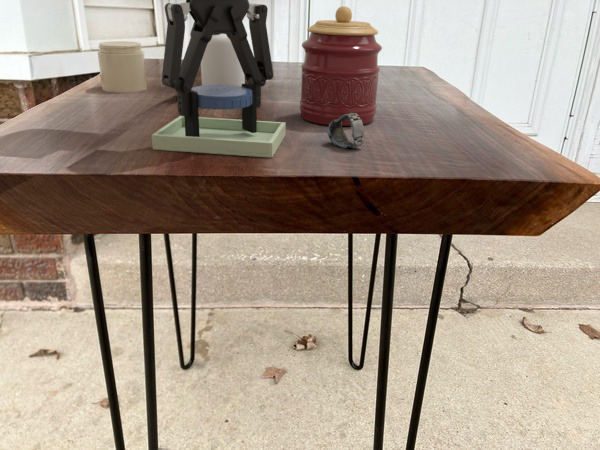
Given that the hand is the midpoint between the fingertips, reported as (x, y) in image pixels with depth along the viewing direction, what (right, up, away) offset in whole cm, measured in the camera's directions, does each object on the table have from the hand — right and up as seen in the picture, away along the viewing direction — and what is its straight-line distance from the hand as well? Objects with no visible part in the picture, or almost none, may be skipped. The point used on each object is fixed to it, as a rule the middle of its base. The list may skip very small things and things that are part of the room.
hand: (221, 134), depth 74 cm
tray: (0, -1, 0) cm, 1 cm away
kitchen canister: (+17, +5, +16) cm, 24 cm away
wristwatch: (+17, -2, +1) cm, 17 cm away
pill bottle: (-3, +11, +26) cm, 28 cm away
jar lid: (0, +5, -2) cm, 6 cm away
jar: (-22, +11, +25) cm, 35 cm away
